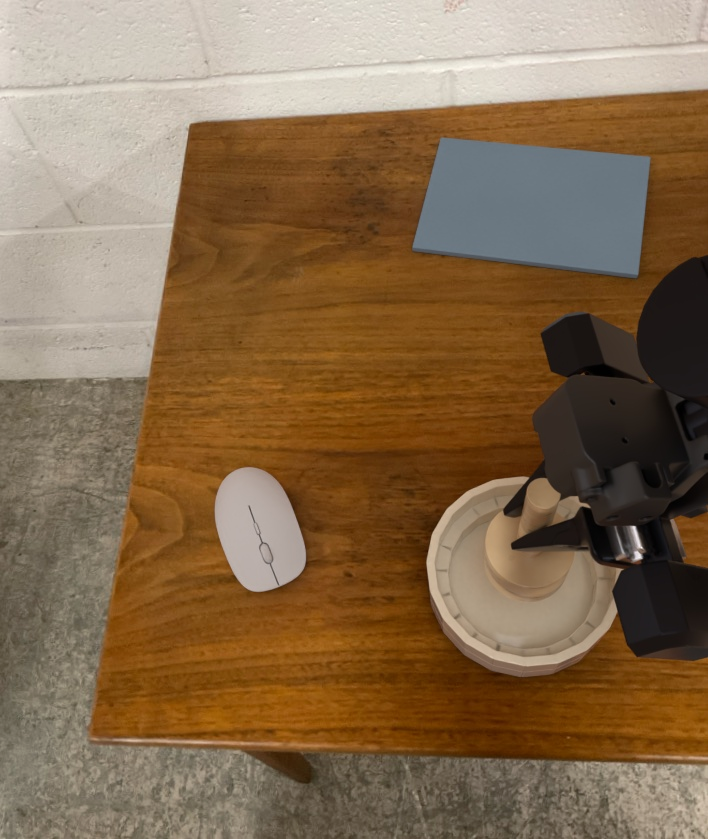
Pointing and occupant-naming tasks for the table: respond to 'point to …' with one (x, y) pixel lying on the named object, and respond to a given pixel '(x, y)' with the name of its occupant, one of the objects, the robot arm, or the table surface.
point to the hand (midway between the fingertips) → (511, 530)
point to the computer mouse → (258, 530)
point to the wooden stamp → (526, 570)
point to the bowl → (502, 616)
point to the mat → (536, 206)
